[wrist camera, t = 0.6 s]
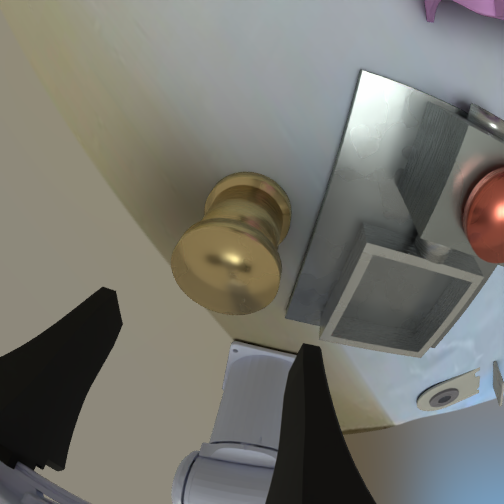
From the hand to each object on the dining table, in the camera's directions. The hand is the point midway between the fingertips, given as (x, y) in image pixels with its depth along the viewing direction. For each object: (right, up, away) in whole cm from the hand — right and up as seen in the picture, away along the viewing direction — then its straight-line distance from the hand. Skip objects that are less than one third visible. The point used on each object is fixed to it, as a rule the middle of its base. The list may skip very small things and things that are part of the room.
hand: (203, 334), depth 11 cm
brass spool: (+2, +6, +7) cm, 9 cm away
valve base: (+12, +4, +6) cm, 14 cm away
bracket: (+25, -12, +16) cm, 32 cm away
